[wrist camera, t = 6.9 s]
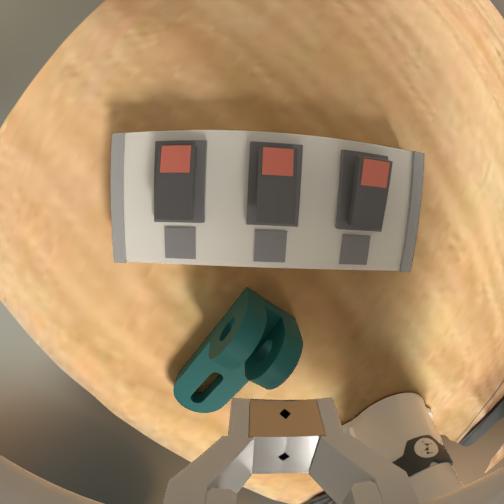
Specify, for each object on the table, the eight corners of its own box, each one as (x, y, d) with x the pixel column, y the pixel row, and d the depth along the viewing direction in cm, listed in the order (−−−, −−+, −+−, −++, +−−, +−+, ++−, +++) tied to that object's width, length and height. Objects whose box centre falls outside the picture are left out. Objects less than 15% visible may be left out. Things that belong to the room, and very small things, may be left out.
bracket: (246, 286, 32) (247, 321, 25) (295, 317, 33) (308, 357, 26) (167, 385, 36) (155, 427, 28) (210, 408, 37) (205, 450, 29)
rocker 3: (377, 225, 25) (381, 229, 24) (347, 223, 25) (350, 227, 24) (387, 159, 23) (393, 161, 22) (356, 155, 23) (360, 156, 22)
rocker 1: (193, 220, 24) (190, 220, 23) (157, 219, 24) (153, 219, 22) (197, 147, 23) (194, 143, 22) (161, 147, 23) (158, 144, 22)
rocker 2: (292, 223, 24) (294, 224, 23) (255, 222, 24) (256, 222, 23) (295, 151, 23) (297, 148, 22) (258, 148, 23) (259, 145, 22)
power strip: (391, 259, 32) (412, 273, 27) (129, 250, 30) (112, 263, 26) (403, 154, 28) (426, 153, 24) (129, 137, 27) (110, 133, 23)
